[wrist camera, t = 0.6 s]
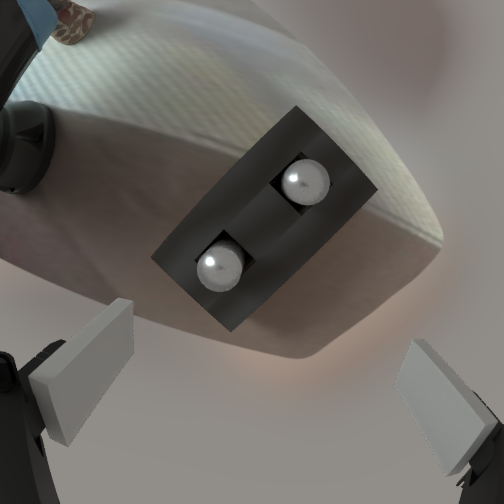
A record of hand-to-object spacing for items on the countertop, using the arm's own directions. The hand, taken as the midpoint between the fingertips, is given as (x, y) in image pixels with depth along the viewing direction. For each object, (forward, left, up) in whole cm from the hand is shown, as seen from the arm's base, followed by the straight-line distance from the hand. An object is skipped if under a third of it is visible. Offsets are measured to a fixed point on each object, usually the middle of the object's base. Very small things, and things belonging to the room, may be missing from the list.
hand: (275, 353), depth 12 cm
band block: (-3, +2, -24) cm, 25 cm away
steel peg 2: (-3, +8, -20) cm, 22 cm away
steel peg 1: (-3, -3, -20) cm, 21 cm away
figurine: (-47, +5, -25) cm, 53 cm away
